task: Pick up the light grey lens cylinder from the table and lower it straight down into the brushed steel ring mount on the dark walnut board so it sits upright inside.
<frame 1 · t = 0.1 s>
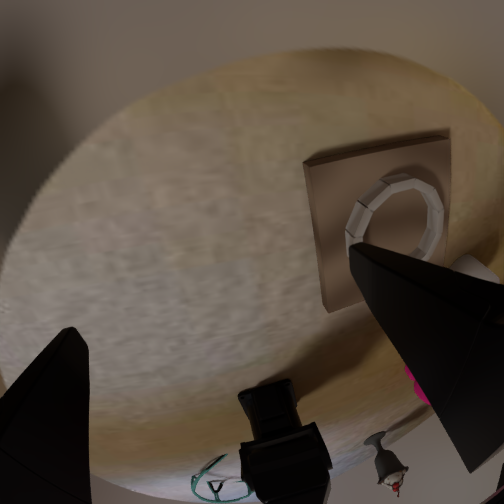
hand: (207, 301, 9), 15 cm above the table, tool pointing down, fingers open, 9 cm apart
mount board: (384, 220, 27), on the table
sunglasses: (230, 469, 47), on the table
lens: (459, 275, 33), on the table
sundae: (373, 437, 52), on the table
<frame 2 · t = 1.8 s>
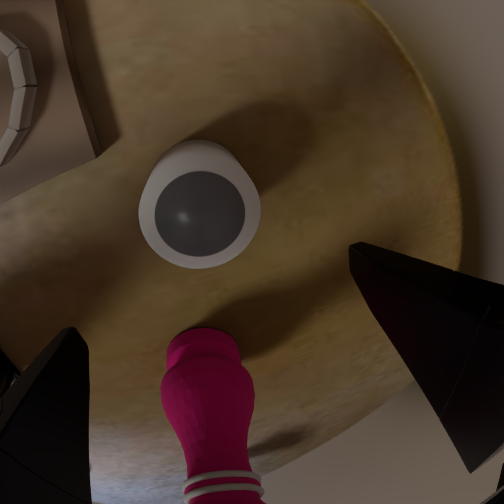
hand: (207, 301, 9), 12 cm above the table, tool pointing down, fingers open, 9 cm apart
pepper mill: (202, 351, 26), on the table
lens: (196, 186, 19), on the table
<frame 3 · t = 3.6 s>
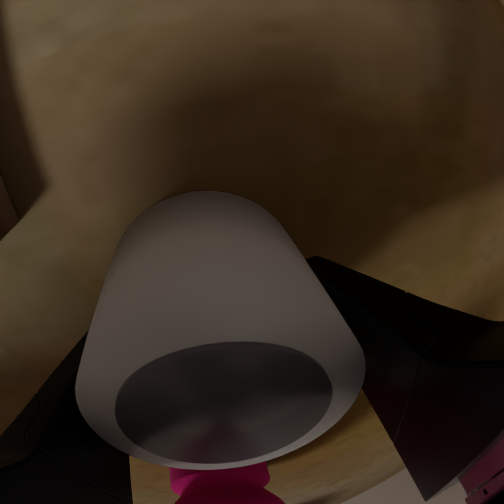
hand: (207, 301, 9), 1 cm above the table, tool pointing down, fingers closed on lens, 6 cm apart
pepper mill: (216, 462, 17), on the table
lens: (205, 281, 10), on the table, touching gripper
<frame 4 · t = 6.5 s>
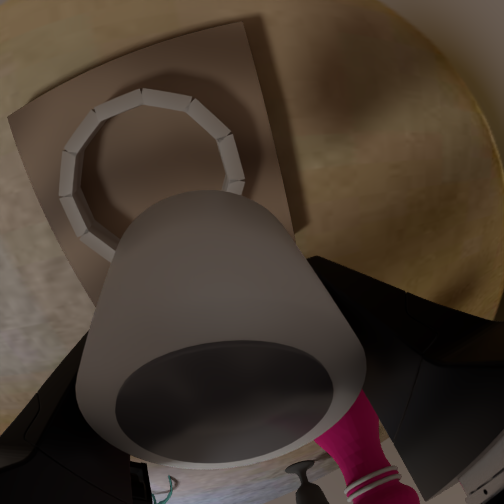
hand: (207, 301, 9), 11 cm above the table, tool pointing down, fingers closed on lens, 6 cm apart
pepper mill: (325, 380, 31), on the table
mount board: (153, 172, 17), on the table
lens: (205, 281, 10), point 10 cm above the table, touching gripper
sundae: (299, 465, 43), on the table
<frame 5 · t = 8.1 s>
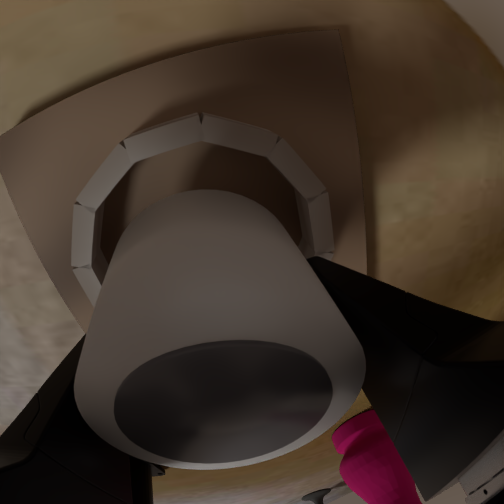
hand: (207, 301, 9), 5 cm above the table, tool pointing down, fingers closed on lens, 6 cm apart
pepper mill: (359, 424, 27), on the table
mount board: (199, 225, 14), on the table
lens: (204, 280, 10), point 4 cm above the table, touching gripper
sundae: (315, 493, 39), on the table
when the fingers open (4 cm above the table, at t = 9.3 s): lens drops 1 cm, resting on mount board.
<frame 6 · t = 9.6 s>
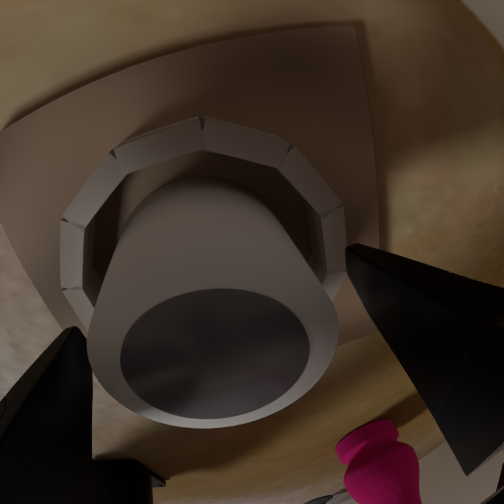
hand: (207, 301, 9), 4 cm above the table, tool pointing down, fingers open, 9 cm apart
pepper mill: (363, 434, 26), on the table
mount board: (200, 240, 13), on the table
lens: (201, 258, 11), point 1 cm above the table, touching mount board
sundae: (317, 500, 38), on the table
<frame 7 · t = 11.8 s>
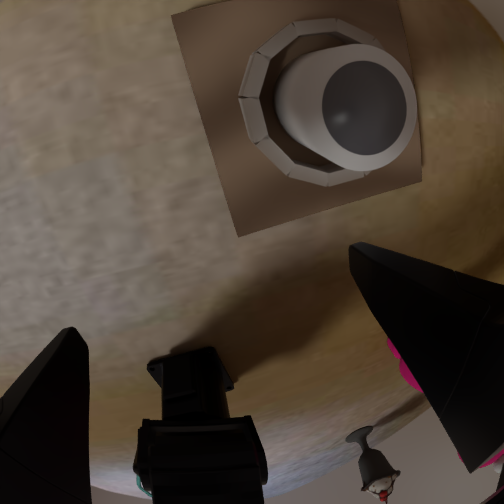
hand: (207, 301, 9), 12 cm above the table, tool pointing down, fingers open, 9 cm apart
pepper mill: (409, 327, 31), on the table
mount board: (313, 98, 18), on the table
lens: (322, 100, 16), point 1 cm above the table, touching mount board
sundae: (358, 433, 44), on the table
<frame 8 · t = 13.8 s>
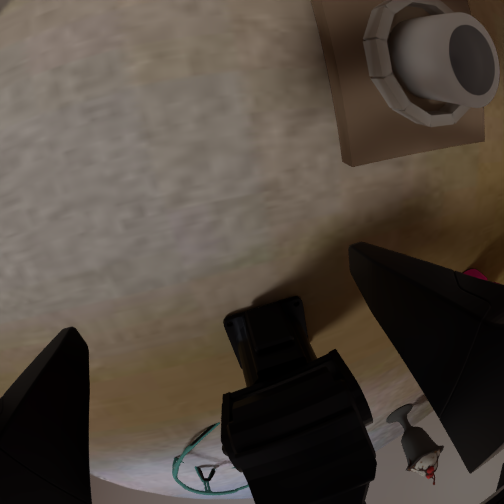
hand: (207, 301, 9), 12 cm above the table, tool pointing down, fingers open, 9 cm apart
mount board: (409, 58, 17), on the table
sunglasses: (225, 448, 37), on the table
lens: (421, 58, 16), point 1 cm above the table, touching mount board
sundae: (398, 412, 42), on the table
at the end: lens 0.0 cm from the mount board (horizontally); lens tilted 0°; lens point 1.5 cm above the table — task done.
